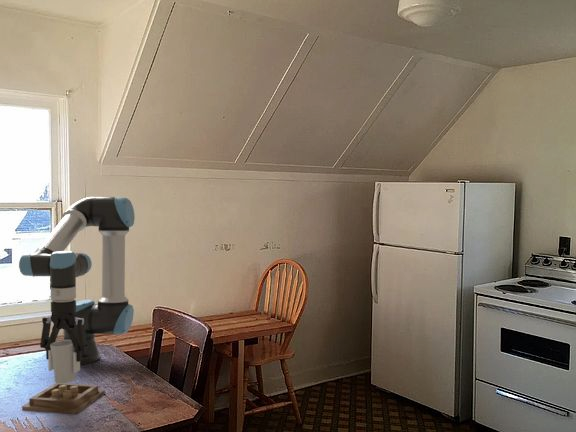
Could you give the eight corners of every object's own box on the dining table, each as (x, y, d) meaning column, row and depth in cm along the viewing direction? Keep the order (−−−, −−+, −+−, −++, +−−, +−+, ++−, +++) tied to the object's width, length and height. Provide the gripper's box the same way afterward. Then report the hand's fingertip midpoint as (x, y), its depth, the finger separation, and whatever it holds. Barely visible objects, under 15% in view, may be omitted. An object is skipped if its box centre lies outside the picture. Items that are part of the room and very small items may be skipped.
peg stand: (55, 389, 196) (55, 377, 196) (104, 393, 193) (104, 381, 192) (22, 409, 178) (21, 396, 178) (75, 414, 175) (75, 401, 175)
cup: (70, 384, 180) (68, 346, 180) (46, 383, 182) (44, 346, 181) (83, 376, 188) (81, 339, 187) (61, 375, 189) (59, 339, 189)
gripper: (26, 300, 182) (27, 371, 183) (87, 303, 178) (88, 376, 179) (41, 296, 189) (42, 364, 190) (99, 299, 185) (100, 368, 187)
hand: (64, 370), depth 185 cm, fingers closed on cup, 8 cm apart
